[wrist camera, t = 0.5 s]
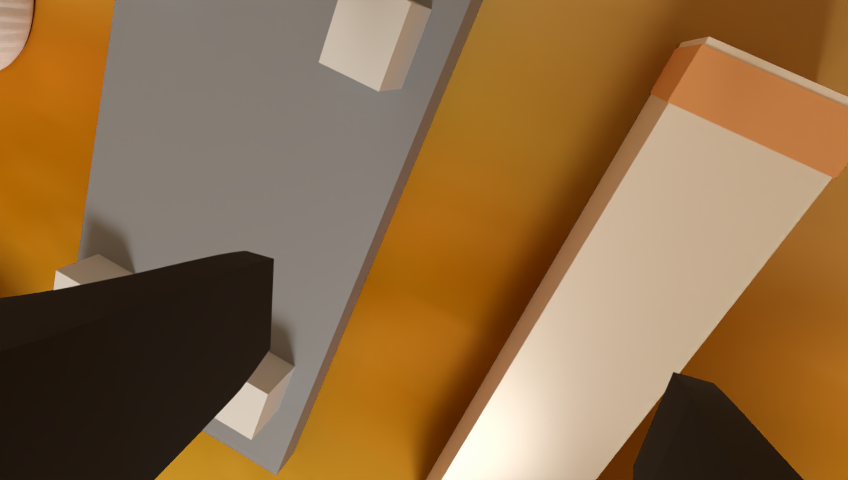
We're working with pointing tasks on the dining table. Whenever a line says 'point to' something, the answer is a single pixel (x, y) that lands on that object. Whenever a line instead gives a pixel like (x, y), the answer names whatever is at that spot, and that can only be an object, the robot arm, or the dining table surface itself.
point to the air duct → (652, 263)
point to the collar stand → (265, 164)
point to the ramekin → (14, 28)
